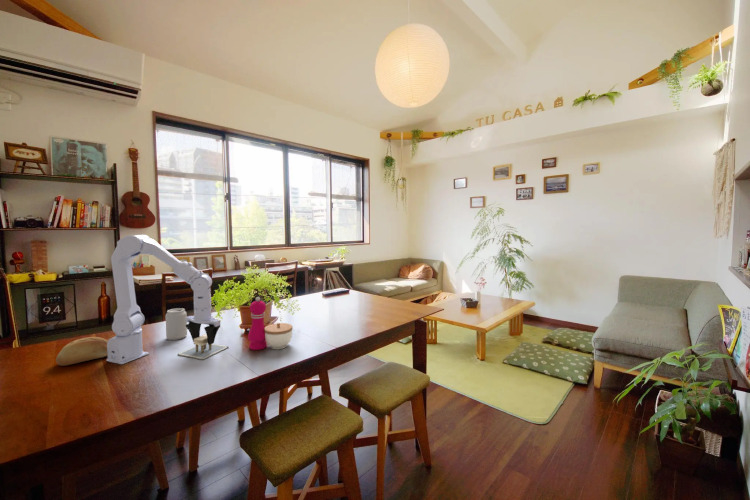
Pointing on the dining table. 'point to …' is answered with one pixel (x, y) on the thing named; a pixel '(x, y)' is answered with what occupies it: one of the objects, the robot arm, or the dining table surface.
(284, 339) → the lidded jar
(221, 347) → the mat
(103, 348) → the bread roll
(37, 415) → the dining table surface
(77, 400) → the dining table surface
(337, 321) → the dining table surface
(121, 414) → the dining table surface
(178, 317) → the can
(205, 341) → the small wooden stool
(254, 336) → the pepper mill
